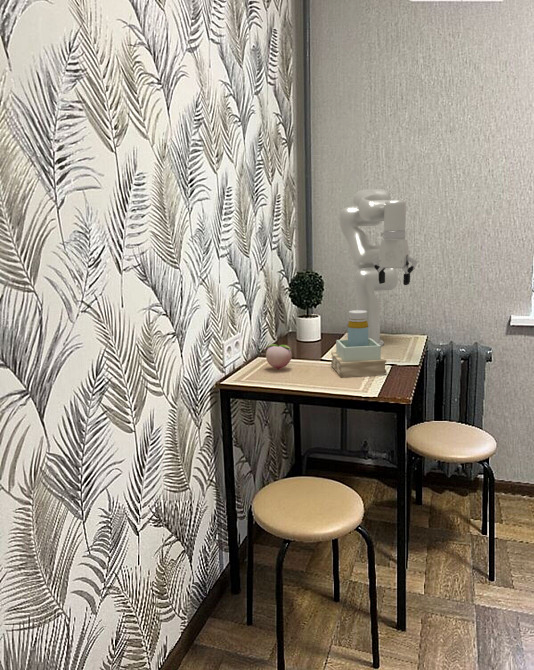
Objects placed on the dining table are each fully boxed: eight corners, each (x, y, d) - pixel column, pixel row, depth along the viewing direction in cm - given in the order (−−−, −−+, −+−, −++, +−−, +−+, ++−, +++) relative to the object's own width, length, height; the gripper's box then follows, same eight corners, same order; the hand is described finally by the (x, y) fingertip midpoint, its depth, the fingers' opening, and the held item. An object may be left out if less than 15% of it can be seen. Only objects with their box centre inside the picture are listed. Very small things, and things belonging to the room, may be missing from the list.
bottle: (346, 356, 212) (345, 313, 209) (349, 351, 218) (349, 309, 215) (366, 356, 210) (366, 313, 207) (369, 352, 216) (369, 310, 213)
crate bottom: (331, 366, 222) (331, 352, 221) (374, 363, 223) (374, 350, 222) (340, 377, 207) (340, 363, 206) (386, 374, 208) (386, 360, 207)
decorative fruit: (263, 372, 216) (263, 344, 214) (267, 366, 224) (266, 339, 222) (290, 372, 215) (289, 344, 213) (293, 366, 223) (292, 339, 221)
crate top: (336, 353, 220) (336, 340, 219) (370, 351, 221) (370, 338, 220) (344, 361, 207) (344, 347, 206) (380, 359, 209) (380, 345, 208)
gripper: (367, 236, 221) (367, 283, 224) (412, 236, 210) (411, 286, 213) (378, 235, 226) (377, 281, 230) (422, 235, 216) (421, 284, 219)
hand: (394, 283), depth 222 cm, fingers open, 9 cm apart
